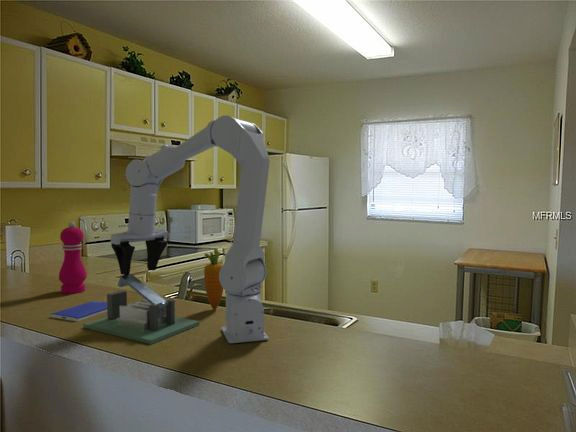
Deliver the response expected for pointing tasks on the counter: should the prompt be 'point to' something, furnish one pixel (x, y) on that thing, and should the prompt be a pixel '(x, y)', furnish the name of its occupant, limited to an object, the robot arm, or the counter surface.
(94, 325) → the motherboard
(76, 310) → the hard drive
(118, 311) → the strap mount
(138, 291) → the metal bar
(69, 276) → the pepper mill
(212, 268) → the carrot
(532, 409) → the counter surface
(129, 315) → the heat sink
